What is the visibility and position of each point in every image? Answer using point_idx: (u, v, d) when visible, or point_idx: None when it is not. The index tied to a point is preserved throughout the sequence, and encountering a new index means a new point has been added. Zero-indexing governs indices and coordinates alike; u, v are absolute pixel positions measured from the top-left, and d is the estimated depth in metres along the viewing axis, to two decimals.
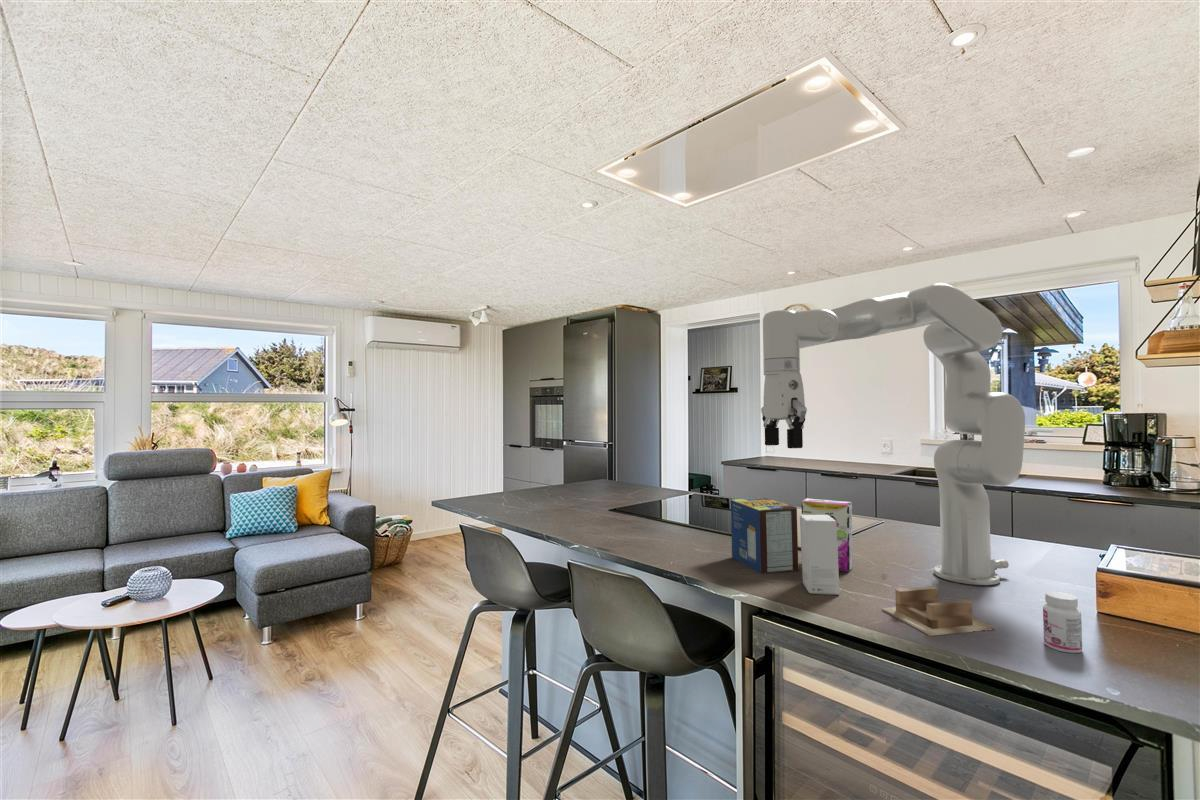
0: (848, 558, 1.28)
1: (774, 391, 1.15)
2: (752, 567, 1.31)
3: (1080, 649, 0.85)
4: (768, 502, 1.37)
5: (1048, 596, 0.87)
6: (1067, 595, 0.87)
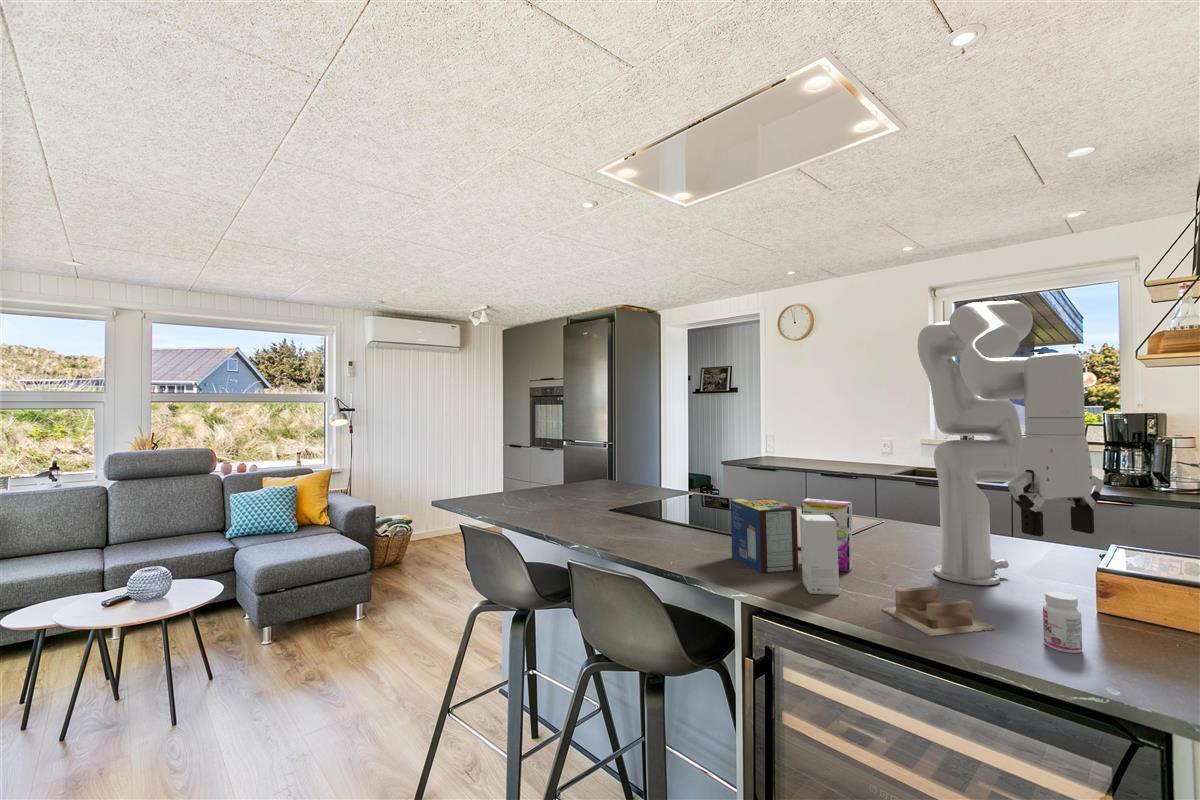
0: (848, 558, 1.28)
1: (1077, 461, 0.86)
2: (752, 567, 1.31)
3: (1080, 649, 0.85)
4: (768, 502, 1.37)
5: (1048, 596, 0.87)
6: (1067, 595, 0.87)
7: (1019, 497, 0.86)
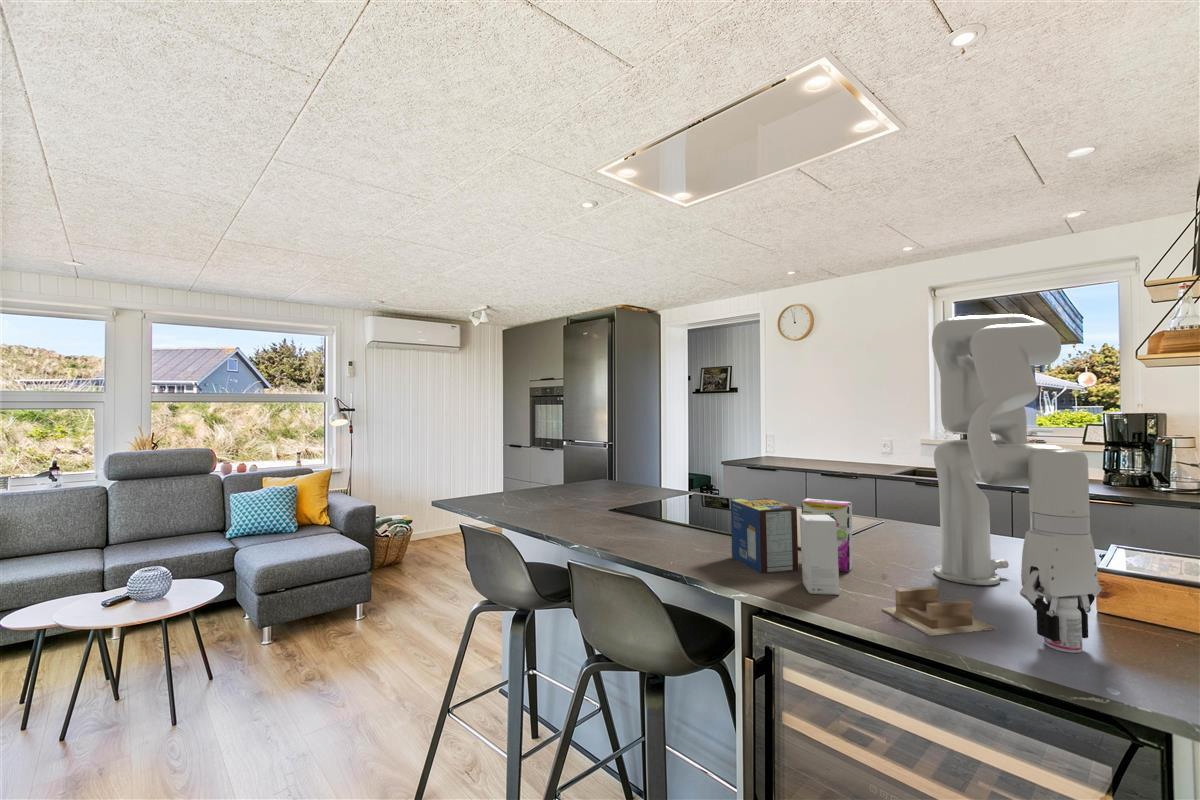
0: (848, 558, 1.28)
1: (1082, 559, 0.85)
2: (752, 567, 1.31)
3: (1080, 649, 0.85)
4: (768, 502, 1.37)
5: None
6: None
7: (1035, 603, 0.86)
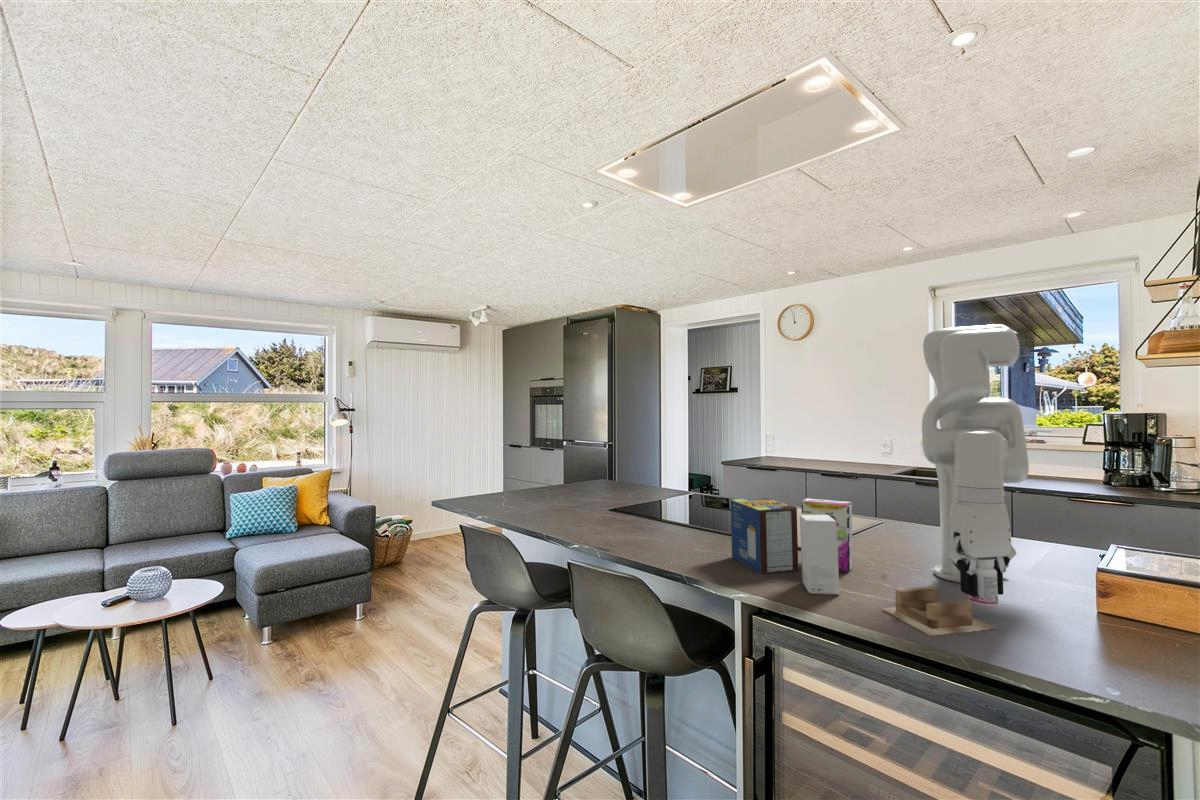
0: (848, 558, 1.28)
1: (997, 525, 0.99)
2: (752, 567, 1.31)
3: (995, 603, 0.98)
4: (768, 502, 1.37)
5: None
6: None
7: (957, 563, 0.99)
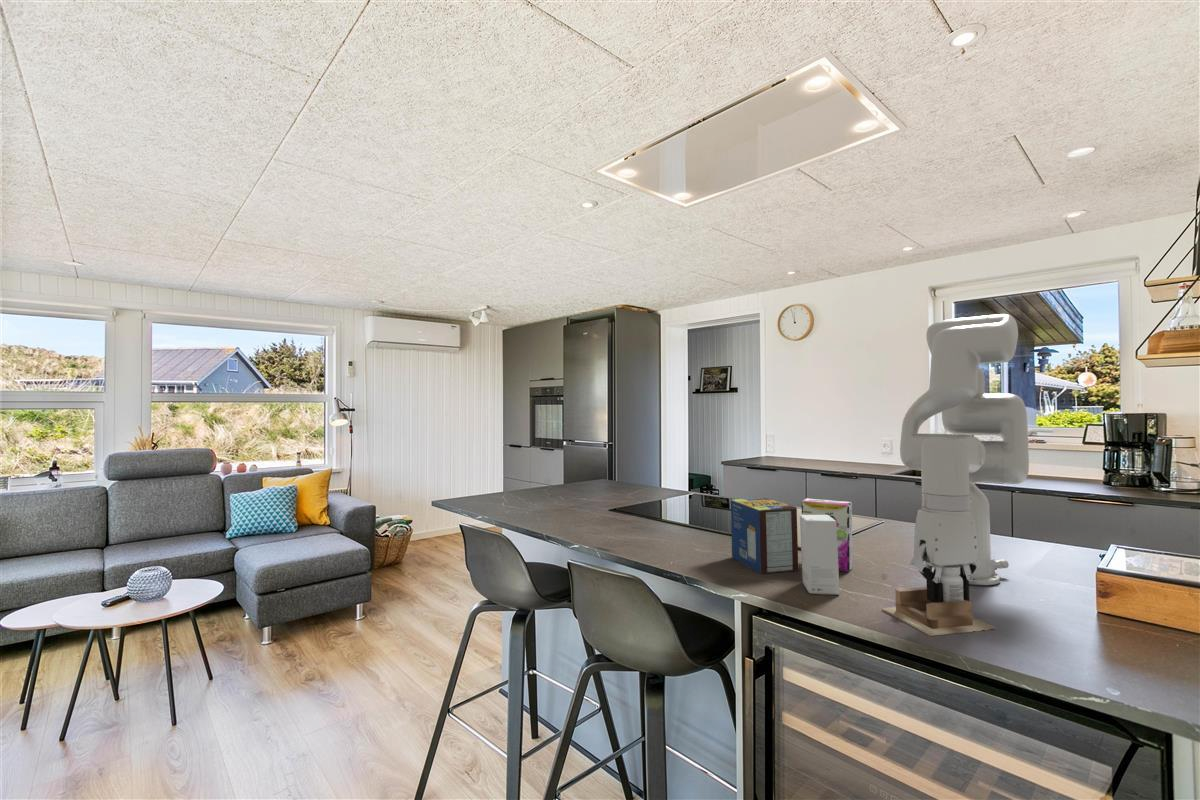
0: (848, 558, 1.28)
1: (963, 533, 0.98)
2: (752, 567, 1.31)
3: None
4: (768, 502, 1.37)
5: None
6: None
7: (923, 571, 0.98)
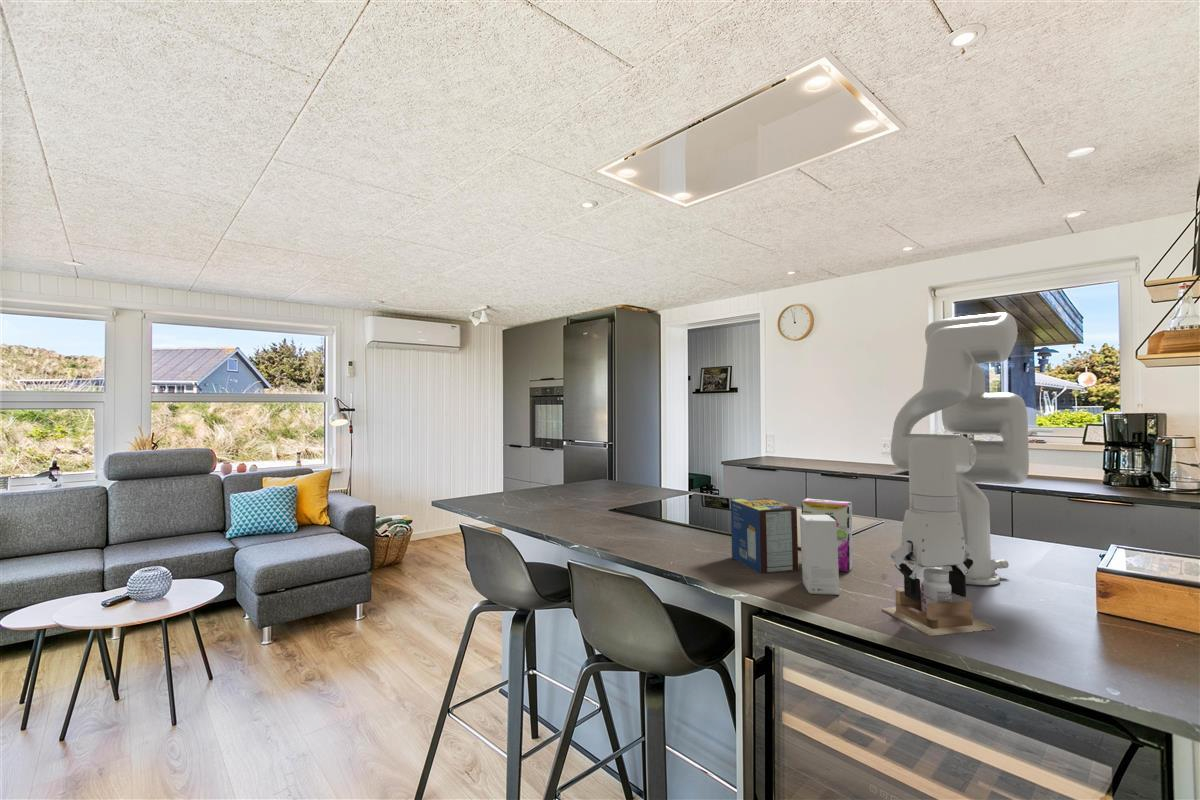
0: (848, 558, 1.28)
1: (950, 534, 0.97)
2: (752, 567, 1.31)
3: None
4: (768, 502, 1.37)
5: (924, 572, 0.99)
6: (941, 571, 0.99)
7: (900, 566, 0.97)
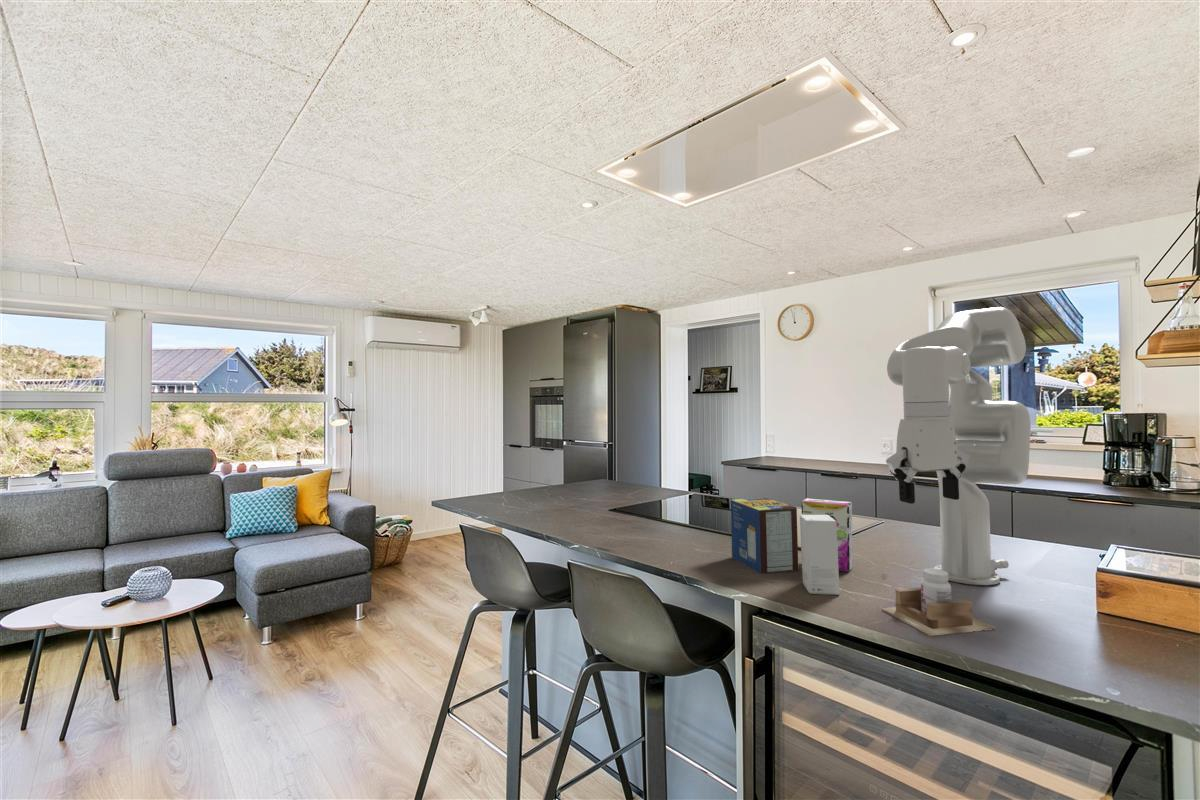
0: (848, 558, 1.28)
1: (943, 438, 1.00)
2: (752, 567, 1.31)
3: None
4: (768, 502, 1.37)
5: (924, 572, 0.99)
6: (940, 571, 0.99)
7: (895, 471, 1.01)
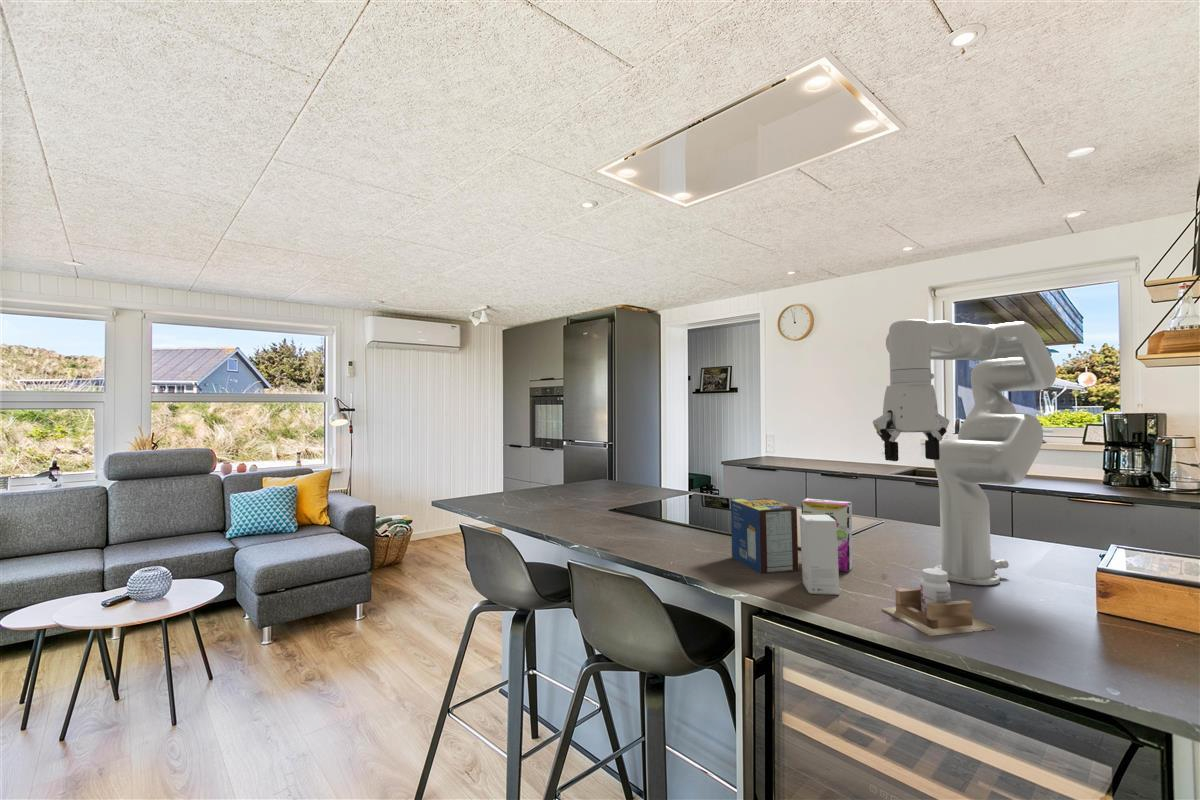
0: (848, 558, 1.28)
1: (925, 402, 1.10)
2: (752, 567, 1.31)
3: None
4: (768, 502, 1.37)
5: (923, 572, 0.99)
6: (940, 571, 0.99)
7: (880, 431, 1.11)
